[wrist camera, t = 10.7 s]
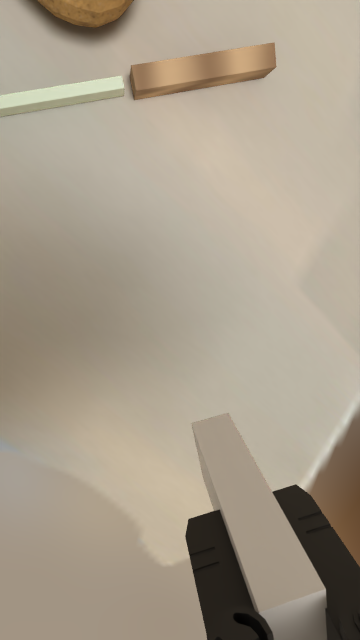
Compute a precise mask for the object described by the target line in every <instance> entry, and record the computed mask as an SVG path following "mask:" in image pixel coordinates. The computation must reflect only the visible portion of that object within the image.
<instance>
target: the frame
mask: <svg viewBox="0 0 360 640" xmlns="http://www.w3.org/2000/svg"><path fill="white" fill-rule="evenodd" d="M120 96H124V84H123V79H122V76H116V77H110V78H104V79H98V80H92V81H85V82H79V83H73V84H67V85H61V86H55V87H49V88H42V89H36V90H30V91H24V92H18V93H12V94H6V95H0V117H2V116H8V115H14V114H20V113H26V112H32V111H38V110H43V109H49V108H55V107H61V106H67V105H73V104H79V103H85V102H91V101H97V100H102V99H108V98H114V97H120Z"/></svg>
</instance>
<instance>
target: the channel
mask: <svg viewBox="0 0 360 640" xmlns="http://www.w3.org/2000/svg"><path fill="white" fill-rule="evenodd" d="M275 68H276V57H275V44H274V43H269V44H262V45H256V46H250V47H244V48H237V49H231V50H225V51H219V52H212V53H206V54H200V55H194V56H188V57H181V58H175V59H169V60H163V61H156V62H150V63H144V64H138V65H131V71H130V81H131V85H132V90H133V95H134V100H137V99H143V98H148V97H154V96H160V95H166V94H172V93H178V92H183V91H189V90H195V89H201V88H207V87H213V86H218V85H224V84H230V83H236V82H242V81H248V80H253V79H259V78H264V77H265V76H266V75H268V74H269V73H270V72H271V71H272V70H273V69H275Z"/></svg>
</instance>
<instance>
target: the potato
mask: <svg viewBox="0 0 360 640" xmlns="http://www.w3.org/2000/svg"><path fill="white" fill-rule="evenodd" d="M37 1H38V2H39V3H41V4H42V5H43V6H44V7H45V8H46V9H47V10H49V11H50V12H51V13H52V14H53V15H54V16H56V17H58V18H60V19H63V20H65V21H67V22H70V23H72V24H74V25H79V26H87V27H94V28H97V27H99V26H102V25H104V24H107V23H109V22H112V21H114V20H117V19H118V18H119V17H120V16H121V15H122V14H123V13H124V11H125V10H126V9H127V8H128V7H129V5H130V4H131V3H132V2H133V1H134V0H37Z"/></svg>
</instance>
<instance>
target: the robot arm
mask: <svg viewBox="0 0 360 640" xmlns="http://www.w3.org/2000/svg"><path fill="white" fill-rule="evenodd" d="M191 424H192V428H193V433H194V438H195V442H196V447H197V452H198V456H199V461H200V465H201V470H202V475H203V478H204V482H205V485H206V488H207V491H208V494H209V497H210V500H211V503H212V506H213V509H214V511H213V512H210V513H207V514H203V515H200V516H197V517H194V518H191V519H189V520H188V525H187V531H186V536H185V537H186V542H187V546H188V551H189V555H190V560H191V565H192V569H193V574H194V578H195V583H196V587H197V592H198V597H199V601H200V606H201V610H202V615H203V620H204V624H205V629H206V633H207V640H360V567H359V566H358V564H357V563H356V561H355V560H354V558H353V557H352V556H351V554H350V552H349V551H348V549H347V548H346V546H345V545H344V544H343V542H342V541H341V539H340V538H339V536H338V535H337V533H336V532H335V530H334V529H333V527H331V525H330V523H329V521H328V520H327V519H326V517H325V516H324V514H322V512H321V510H320V508H319V507H318V505H317V504H316V502H315V501H314V500H313V498H312V497H311V495H309V494H308V493H307V492H305V491H304V490H303V489H301V488H300V487H299V486H297V485H293V486H289V487H286V488H283V489H280V490H277V491H273V492H272V491H271V489H270V487H269V486H268V484H267V482H266V480H265V478H264V476H263V475H262V473H261V471H260V469H259V467H258V466H257V464H256V462H255V460H254V458H253V457H252V455H251V453H250V451H249V449H248V448H247V446H246V444H245V442H244V440H243V439H242V437H241V435H240V433H239V431H238V430H237V428H236V426H235V424H234V422H233V421H232V419H231V417H230V415H229V413H226V414H223V415H219V416H215V417H212V418H208V419H205V420H201V421H198V422H194V423H191Z"/></svg>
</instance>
